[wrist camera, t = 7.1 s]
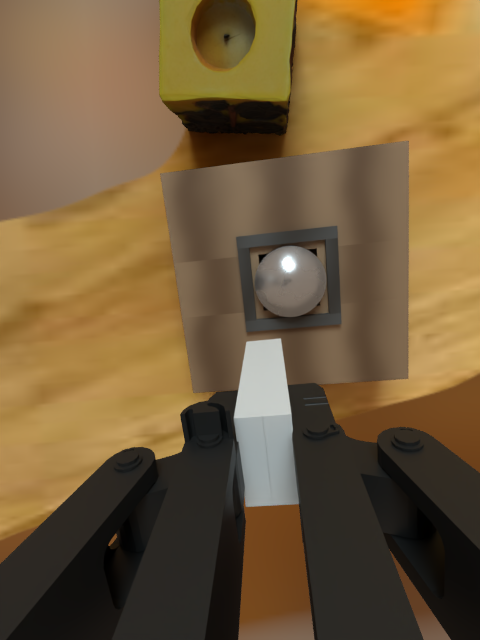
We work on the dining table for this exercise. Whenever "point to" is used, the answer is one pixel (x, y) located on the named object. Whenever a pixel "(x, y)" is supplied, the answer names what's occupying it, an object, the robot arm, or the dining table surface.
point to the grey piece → (290, 281)
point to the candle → (227, 63)
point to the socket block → (304, 231)
